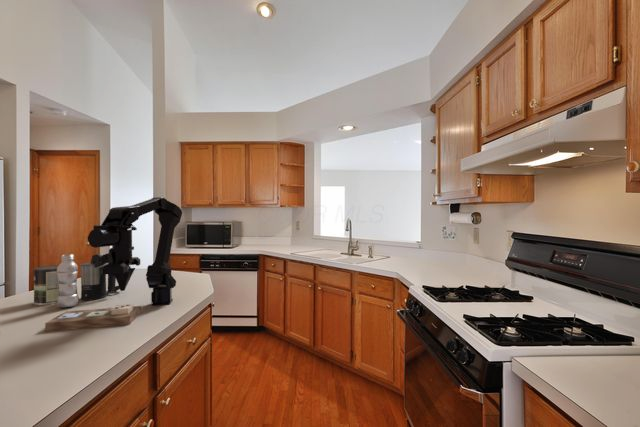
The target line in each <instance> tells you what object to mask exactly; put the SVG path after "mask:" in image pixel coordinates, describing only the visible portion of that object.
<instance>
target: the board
mask: <svg viewBox="0 0 640 427" xmlns="http://www.w3.org/2000/svg"><path fill="white" fill-rule="evenodd" d="M113 308H114V307H110V308H93V309H82V310H81V309H80V310H79V309H78V310H69V311H68V310H67V311H64V312H62V313H60V314H59V315H57V316H55V317H53V318H52V319H49V320H48V321H46V322H45V323H44V328H45V329H44V332H53V331H65V330H76V329H88V328H89V329H90V328H100V327H101V328H102V327H110V326H111V327H112V326H123V325H131V324H132V323H133V322H134V321H135V319H137V318H138V317H139V316H140V315H141V314H142V305H138V306H134V305H133V311H132V312H130V313H129V314H119V315H111V309H113ZM98 311H109V312H108V313H106V314H105V315H104V316H93V317H85V316H86V315H88V314H89V313H91V312H98ZM81 312H83V314H82V315H80V316H78V317H77V318H67V319H57V318H59V317H61V316H62V315H64V314H67V313H81Z"/></svg>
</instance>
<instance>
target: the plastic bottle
mask: <svg viewBox="0 0 640 427" xmlns="http://www.w3.org/2000/svg"><path fill="white" fill-rule="evenodd" d="M60 260H61V263H59V266H58V268H57V275H58V280H59V293H58V298H57V303H56V304H57V307H59V308H65V309H67V307H68V308H72V307H75V306H76V305H78V303H79V300H80V298H79V293H78V285H77V281H78V280H77V279H78V272H79V267H78V264H77V263H76V262H75V261H74V260H75V255H74V254H71V253H69V254H62V255H61V259H60Z"/></svg>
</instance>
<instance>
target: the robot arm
mask: <svg viewBox="0 0 640 427" xmlns="http://www.w3.org/2000/svg"><path fill="white" fill-rule="evenodd" d="M153 211H154V214H156V215H158V221H159V224H160V226H161V227H160V233H159V237H158V241H157V242H158V244H157V247H156V253H155V260H154V262H153V263H152V264H151V265H147V268H146V274H145V277H146V282H147V285H148V289H152V292H150V293H151V294H150V300H151V306H163V305H170V304H171V303H172V301H173V300H174V299H173V298H172V297H173V295H172V293H173V292H172V291H173V290H172V289H173V288H175V287H176V285H177V280H176V279H175V278H174V276H173V275H172V267H171V265H170V263H169V261H170V256H171V250H172V243H173V239H174V234H175V228H176V227H177V226H178V224H179V223H180V222H181V219H182V217H183V210H182V209H181V208H180V206H178V205H177V204H175V203H173V202H171V201H169V200H167V199H166V198H165V197H163V196H160V197H157V196H156V197H154V196H153V197H152V198H150V199H148V200H144V201H141V202H139V203H136V204H133V205H126V206H125V205H124V206H115V207H112V208H110V209H109V210H108V213H107V215H106V217H105V218H104V220H103V222H102V223H101V225H100V224H99V225H93V229H92V230H91V231H89V233H88V236H87V242H88V244H89V245H90V246H91V247H92V248H104V247H110V248H109V249H108V253H105V254H103V255H102V254H100V253H96V254H93V255H92V256H91V259H90V263H91V264H93V265H94V267H95V268H97V267H99V266H102V265H104V264H105V265H104V266H103V267H102V268H101V274H102V275H103V274H106V275H108V274H112V275H114V276H115V277H116V283H117V286H119V288H120V289H119V291H120V292H125V291H126V288H127V286H128V285H129V281H130V280H131V277H132V276H133V274H134V271H135V270H136V267H131V266H137V267H138V266H140V265H141V258H139V257H138V256H134V257H133V251H134V250H135V246H133V231H137V227H136V226H135V225H133V224H134V223H135V222H136V221H138V220H139V218H140V217H141V216H144V215H146V214H147V213H151V212H153Z"/></svg>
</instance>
